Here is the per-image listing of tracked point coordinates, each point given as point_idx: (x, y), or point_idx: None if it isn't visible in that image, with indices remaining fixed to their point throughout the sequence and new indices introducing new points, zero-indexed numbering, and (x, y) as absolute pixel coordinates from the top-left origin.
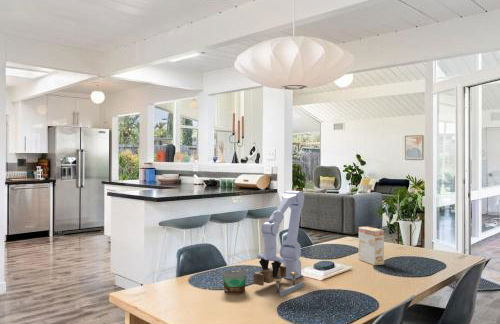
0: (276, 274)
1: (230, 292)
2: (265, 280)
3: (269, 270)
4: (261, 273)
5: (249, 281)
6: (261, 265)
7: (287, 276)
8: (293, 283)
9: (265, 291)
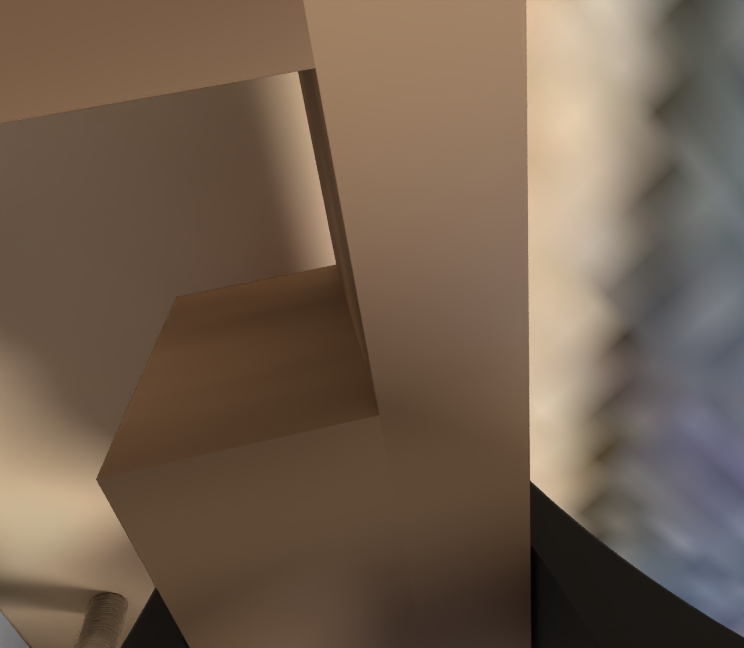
0: None
1: None
2: (264, 297)
3: (326, 614)
4: (354, 296)
5: (734, 274)
6: (713, 638)
7: None
8: (82, 636)
9: (106, 108)
